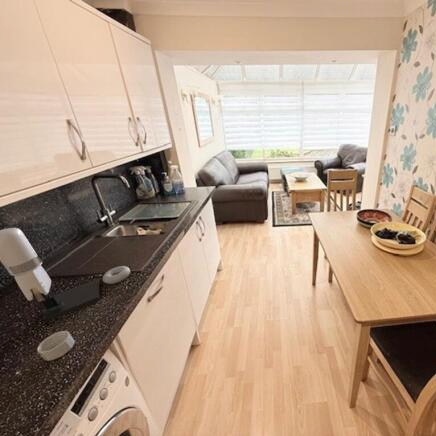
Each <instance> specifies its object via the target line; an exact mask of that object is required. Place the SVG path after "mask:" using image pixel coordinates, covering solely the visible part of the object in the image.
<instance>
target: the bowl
mask: <svg viewBox="0 0 436 436" xmlns="http://www.w3.org/2000/svg"><path fill="white" fill-rule="evenodd" d="M75 342H76V341H75V339H74V337H73V336H72V335H71V333H70V332H69V331H67V330H62V331H61V330H60V331H58V332H55V333H53V334H50V335H49V336H48V337H46V338H45V339H43V340H42V341H41V342H40V344H38V346H37V349H36V351H37V353H38V354H39V355H40V356H41V358H42V359H43V360H44V361H47V362H48V361H49V362H50V361H54V360H56V359H59V358H61V357H62V356H64V355H66V354H67V353H69V351H70V350H72V348H73V347H74V345H75Z"/></svg>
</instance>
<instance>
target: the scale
mask: <svg viewBox="0 0 436 436" xmlns="http://www.w3.org/2000/svg"><path fill="white" fill-rule="evenodd" d="M54 295H55V297H56V298H57V300H58V301H59V304H58V306H57V307H56V308H55V309H52V310H48V309H46V308H45V307H44V308H43V309H42V312H41V313H42V314H43V316H42V321H43V322H44V323H47V322H49V321H52V320H54V319H57V318H59V317H61V316H64V315H66V314H69V313H71V312H74V311H77V310H78V309H82V308H83V307H86V306H88V305H91V304H94V303H97V302H99V301H101V282H100V279H98V278H96V279H94V280H92V281H88V282H86V283H83V284H79V285H78V286H75V287H72V288H70V289H67V290H64V291H62V292H59V293H56V294H54Z"/></svg>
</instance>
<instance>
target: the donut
mask: <svg viewBox="0 0 436 436" xmlns="http://www.w3.org/2000/svg"><path fill="white" fill-rule="evenodd" d="M130 274H131V269H130V268H129V266H125V265H121V266H116V267H114V268H113V267H112V268H111V269H109V270H107V271H106V272H105V273H104V274H103V276H102V281H103V283H105V284H106V285H115V284H119V283H121V282H123V281H124V280H126V279H127V278H128V277H130Z"/></svg>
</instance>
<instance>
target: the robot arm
mask: <svg viewBox="0 0 436 436" xmlns="http://www.w3.org/2000/svg"><path fill="white" fill-rule="evenodd" d="M0 262H1V264H2V265H3V266H4V268H5V269H6V271H7V272H8V274H9V275H10V276H11V277H12V276H13V278H14V280H15V282H16V283H17V286H18V287H19V289H20V290H21V292H22V294H23V295H24V297H25V298H26V300H27V301H29V302H31V301H33V300H34V298H36V300H37V302H38V303H42V305H43V306H44V308H46V309H50V308H53V307H56V306H58V304H59V301H58V300H57V298H56V297H55V295H56V294H54V292H53V291H52V288H51V285H52V279H51V278H50V276H49V274H48V273H47V271H46V269H44V267H43V266H42V264H43V261H42V259H41V258H40V257H39V255H38V254H37V253H36V251H35V249H34V248H33V245H32V244H31V243H30V242H29V240H28V238H27V237H26V235H25V234H24V232H23V231H22V230H21V229H20V228H18V227H9V228H4V229H0Z"/></svg>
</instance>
